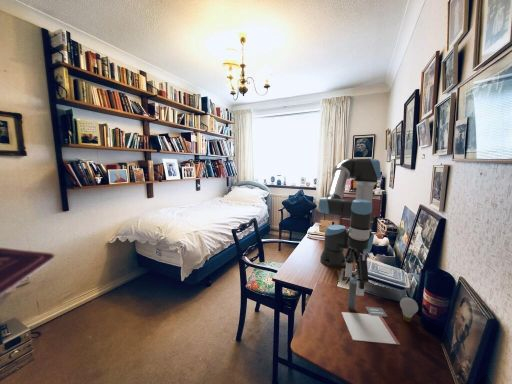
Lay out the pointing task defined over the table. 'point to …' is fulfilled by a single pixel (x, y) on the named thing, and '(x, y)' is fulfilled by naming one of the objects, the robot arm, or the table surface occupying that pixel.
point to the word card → (376, 311)
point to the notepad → (369, 328)
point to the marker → (352, 293)
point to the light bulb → (408, 308)
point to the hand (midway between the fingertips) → (353, 285)
